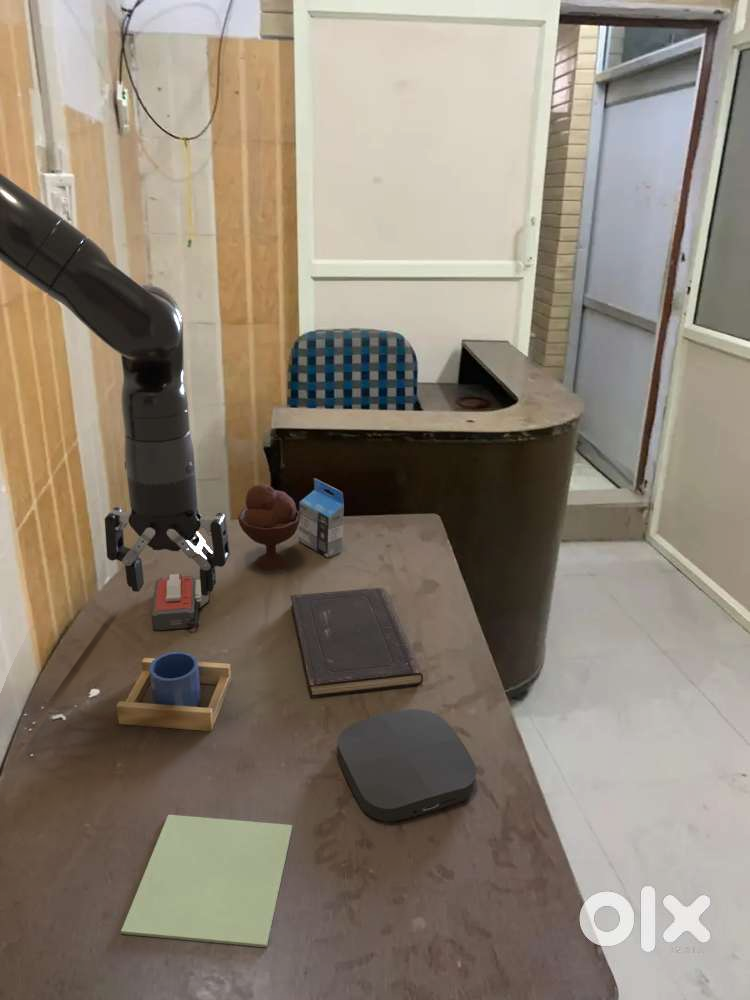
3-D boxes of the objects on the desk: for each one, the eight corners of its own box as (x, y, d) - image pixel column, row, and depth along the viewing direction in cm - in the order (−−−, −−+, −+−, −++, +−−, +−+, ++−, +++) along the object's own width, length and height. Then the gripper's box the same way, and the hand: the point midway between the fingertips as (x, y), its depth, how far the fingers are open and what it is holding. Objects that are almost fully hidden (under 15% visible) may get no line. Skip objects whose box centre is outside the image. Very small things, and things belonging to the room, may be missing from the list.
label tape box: (297, 541, 145) (297, 482, 140) (314, 535, 148) (314, 477, 142) (327, 559, 139) (327, 498, 134) (344, 552, 142) (345, 492, 137)
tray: (118, 724, 98) (116, 705, 97) (146, 674, 107) (144, 657, 106) (211, 731, 97) (210, 713, 96) (231, 681, 107) (230, 663, 105)
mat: (121, 933, 72) (120, 931, 72) (168, 817, 85) (168, 814, 85) (266, 947, 71) (266, 944, 71) (292, 827, 84) (292, 824, 84)
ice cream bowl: (256, 583, 131) (253, 504, 124) (231, 555, 139) (227, 480, 133) (311, 568, 136) (311, 492, 130) (284, 542, 144) (282, 469, 138)
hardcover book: (309, 698, 104) (309, 685, 103) (290, 607, 124) (290, 595, 123) (422, 685, 107) (423, 672, 106) (385, 598, 128) (386, 586, 127)
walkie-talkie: (209, 631, 117) (209, 567, 135) (208, 607, 116) (208, 545, 133) (150, 636, 116) (158, 570, 133) (148, 611, 114) (156, 548, 132)
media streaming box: (328, 743, 96) (328, 725, 95) (432, 717, 101) (433, 699, 100) (370, 832, 84) (371, 812, 83) (486, 797, 89) (489, 778, 88)
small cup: (146, 715, 100) (142, 678, 97) (162, 685, 105) (158, 649, 103) (193, 719, 99) (189, 682, 97) (206, 688, 105) (203, 653, 103)
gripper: (230, 459, 90) (236, 578, 97) (112, 453, 90) (126, 571, 97) (214, 485, 83) (222, 610, 90) (86, 478, 84) (103, 603, 90)
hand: (172, 590), depth 94 cm, fingers open, 8 cm apart
